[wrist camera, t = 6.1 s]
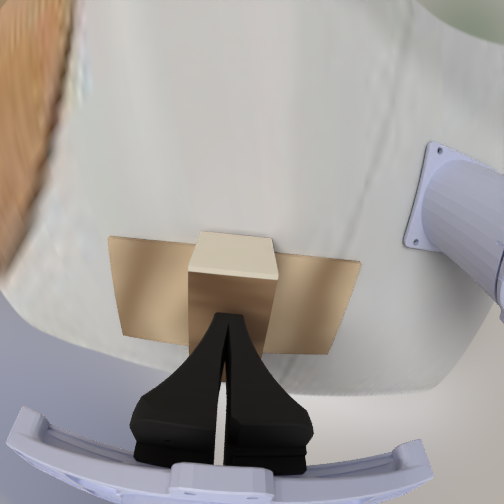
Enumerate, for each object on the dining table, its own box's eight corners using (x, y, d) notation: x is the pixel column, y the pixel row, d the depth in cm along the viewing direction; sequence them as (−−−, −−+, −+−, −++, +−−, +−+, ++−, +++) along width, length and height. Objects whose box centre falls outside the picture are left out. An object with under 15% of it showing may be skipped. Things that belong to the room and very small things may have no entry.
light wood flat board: (359, 261, 19) (361, 263, 19) (326, 351, 23) (327, 354, 23) (109, 235, 18) (107, 238, 18) (124, 332, 22) (123, 335, 22)
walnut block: (278, 274, 14) (255, 384, 18) (271, 238, 18) (253, 340, 22) (188, 266, 14) (190, 378, 18) (201, 231, 18) (198, 335, 22)
